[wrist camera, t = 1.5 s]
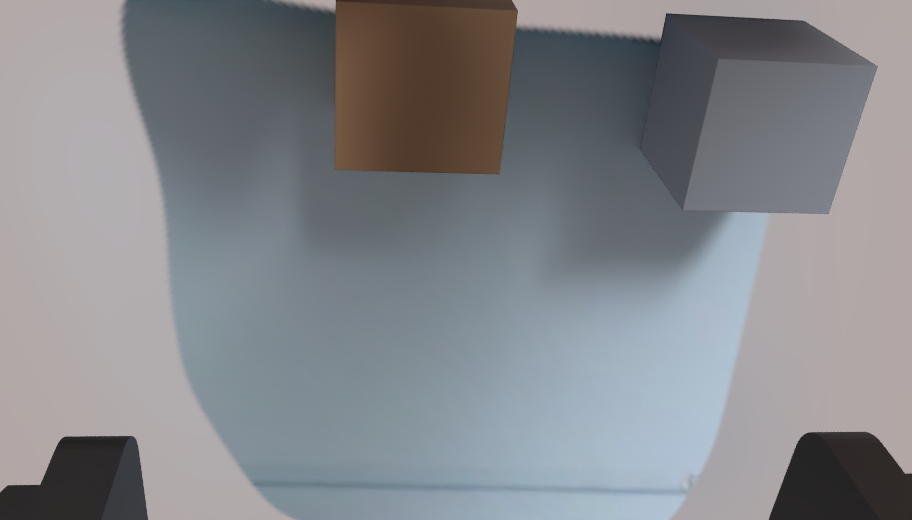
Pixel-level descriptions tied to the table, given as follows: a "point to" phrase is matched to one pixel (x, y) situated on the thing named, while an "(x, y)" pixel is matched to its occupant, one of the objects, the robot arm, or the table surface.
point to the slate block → (753, 113)
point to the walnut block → (422, 84)
